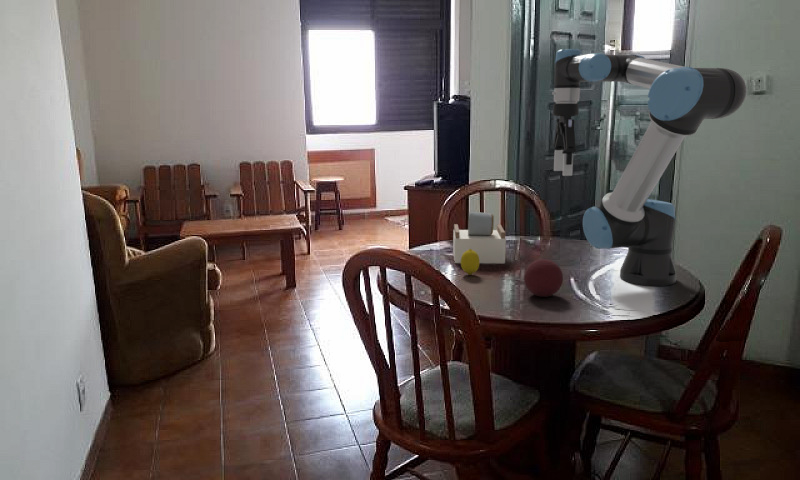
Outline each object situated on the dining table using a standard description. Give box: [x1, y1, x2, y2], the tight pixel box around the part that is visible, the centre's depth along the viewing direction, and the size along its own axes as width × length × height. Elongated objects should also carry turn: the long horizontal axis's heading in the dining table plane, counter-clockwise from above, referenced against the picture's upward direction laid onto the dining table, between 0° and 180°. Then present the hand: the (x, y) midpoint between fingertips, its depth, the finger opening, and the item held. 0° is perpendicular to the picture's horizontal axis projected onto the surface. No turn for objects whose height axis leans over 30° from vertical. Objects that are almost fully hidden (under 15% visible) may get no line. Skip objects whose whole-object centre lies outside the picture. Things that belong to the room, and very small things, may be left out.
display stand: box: [452, 223, 507, 264], centre depth 207 cm, size 14×16×10 cm
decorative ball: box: [523, 258, 564, 298], centre depth 166 cm, size 10×10×10 cm
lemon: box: [460, 249, 480, 276], centre depth 187 cm, size 6×6×8 cm
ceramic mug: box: [467, 211, 495, 235], centre depth 205 cm, size 11×8×8 cm
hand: (562, 173), depth 194 cm, fingers open, 13 cm apart
